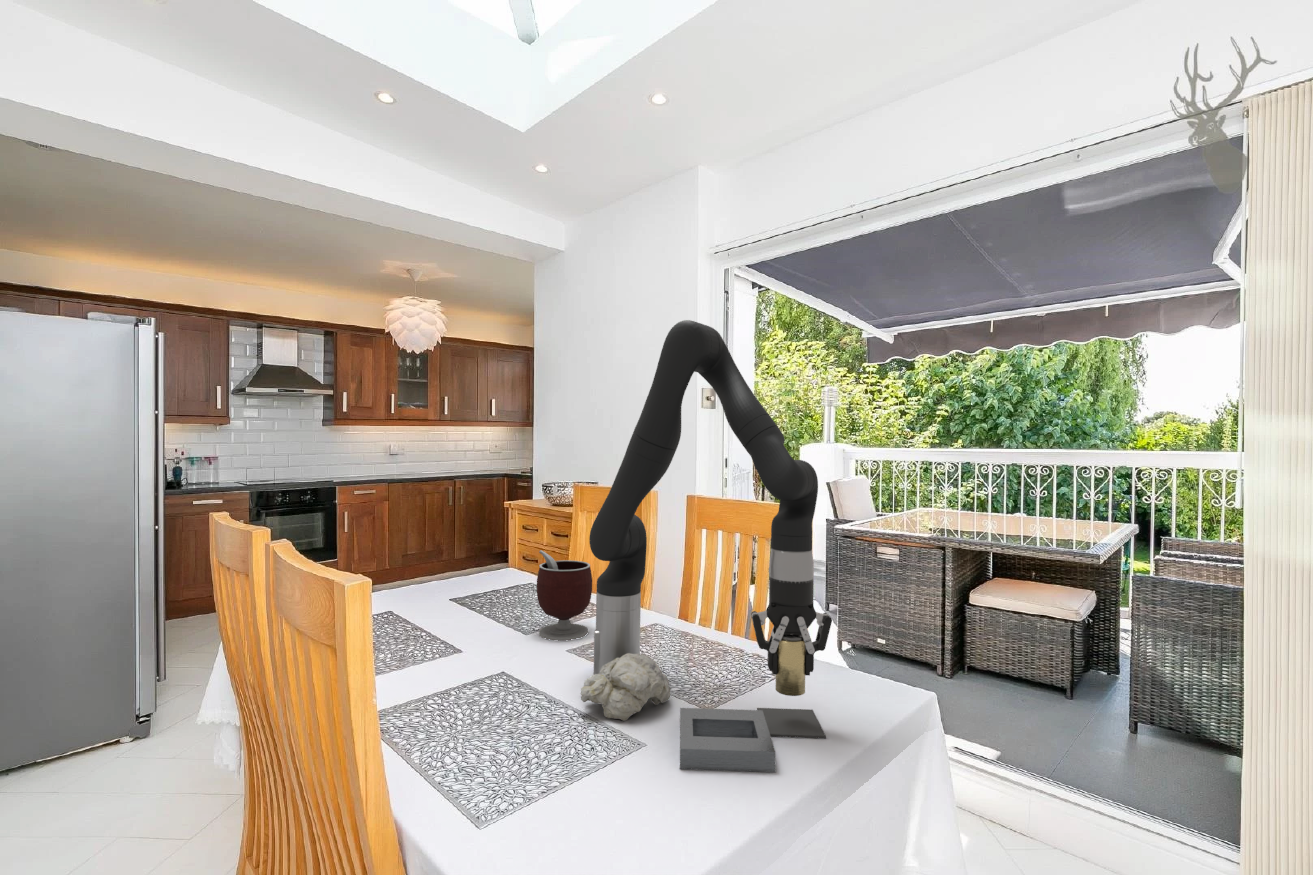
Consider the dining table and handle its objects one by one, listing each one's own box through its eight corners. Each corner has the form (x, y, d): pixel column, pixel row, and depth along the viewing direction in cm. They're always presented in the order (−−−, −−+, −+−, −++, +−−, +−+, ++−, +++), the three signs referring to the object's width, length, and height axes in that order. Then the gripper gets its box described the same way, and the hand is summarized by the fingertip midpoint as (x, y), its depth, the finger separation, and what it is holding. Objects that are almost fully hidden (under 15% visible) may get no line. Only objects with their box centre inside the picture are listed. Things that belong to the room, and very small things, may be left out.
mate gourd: (602, 630, 156) (603, 552, 156) (566, 645, 144) (568, 561, 144) (556, 620, 164) (558, 546, 164) (519, 633, 152) (520, 553, 153)
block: (679, 768, 90) (680, 748, 90) (679, 725, 104) (680, 707, 104) (775, 772, 89) (775, 751, 89) (762, 727, 103) (762, 710, 103)
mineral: (570, 685, 115) (575, 647, 110) (656, 669, 121) (663, 632, 116) (586, 743, 105) (591, 704, 100) (678, 723, 111) (687, 685, 106)
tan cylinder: (778, 695, 103) (778, 638, 103) (773, 683, 108) (773, 629, 108) (807, 696, 103) (808, 639, 103) (801, 684, 108) (802, 630, 108)
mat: (764, 736, 100) (764, 733, 100) (757, 709, 110) (757, 707, 110) (825, 738, 100) (825, 735, 100) (812, 711, 110) (812, 709, 110)
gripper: (752, 578, 102) (751, 680, 102) (838, 580, 102) (837, 682, 101) (747, 569, 110) (746, 664, 109) (827, 571, 109) (827, 666, 109)
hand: (790, 672), depth 105 cm, fingers closed on tan cylinder, 5 cm apart
